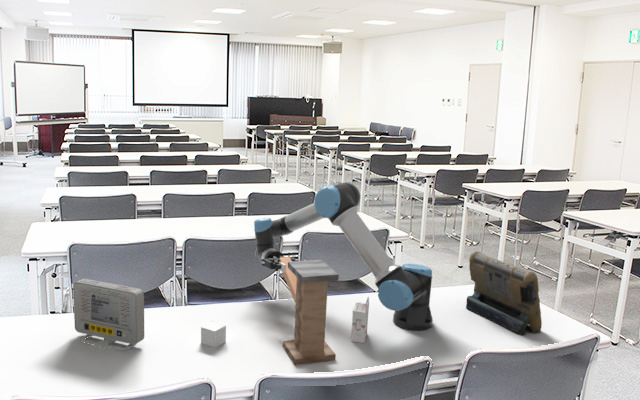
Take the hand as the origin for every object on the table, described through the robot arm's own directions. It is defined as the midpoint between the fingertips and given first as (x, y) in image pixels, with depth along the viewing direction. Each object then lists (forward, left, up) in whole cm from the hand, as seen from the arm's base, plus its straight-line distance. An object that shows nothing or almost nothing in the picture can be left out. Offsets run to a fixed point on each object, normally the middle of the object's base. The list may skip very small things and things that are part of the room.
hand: (291, 268), depth 210 cm
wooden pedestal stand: (-8, +24, -22) cm, 33 cm away
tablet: (-85, -14, -22) cm, 89 cm away
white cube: (+25, +19, -22) cm, 38 cm away
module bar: (0, +1, -5) cm, 5 cm away
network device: (+60, +22, -22) cm, 68 cm away
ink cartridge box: (-26, +10, -22) cm, 35 cm away
